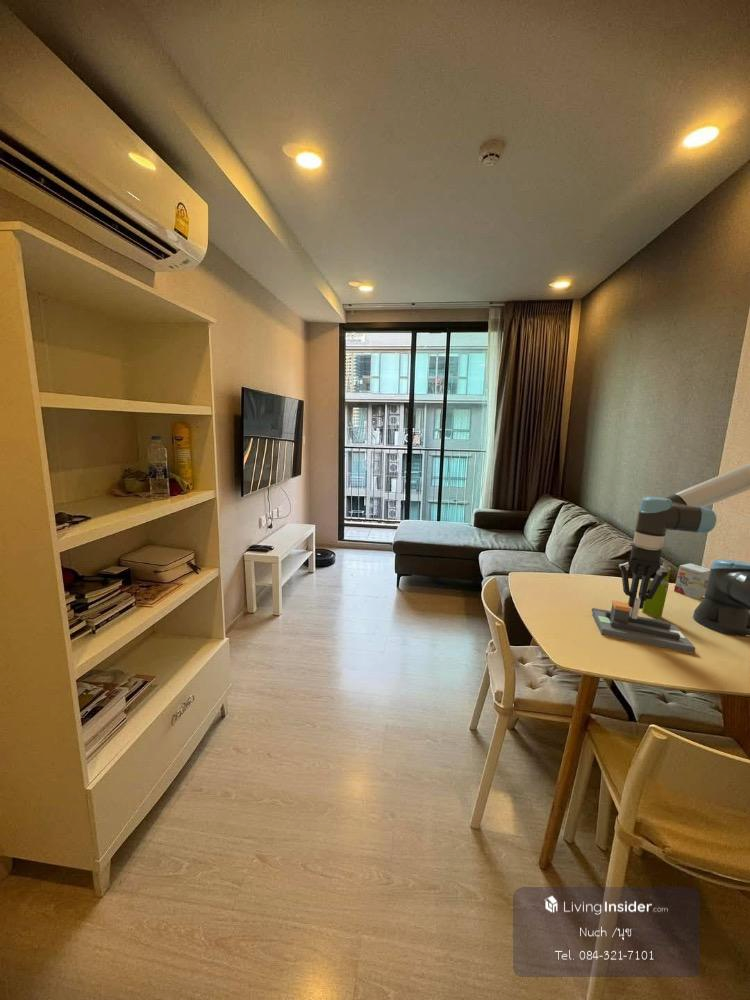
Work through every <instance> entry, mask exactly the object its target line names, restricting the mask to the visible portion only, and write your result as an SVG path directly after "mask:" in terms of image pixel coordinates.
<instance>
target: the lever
mask: <svg viewBox="0 0 750 1000" xmlns="http://www.w3.org/2000/svg"><path fill="white" fill-rule="evenodd" d="M610 611H611V614H610V619H611V620H613V621H619V622H624V623H628V619H629V614H630V612H631V607H630V606H629V605H628V602H626V601H625V602H623V601H618V600H612V601H611V608H610Z"/></svg>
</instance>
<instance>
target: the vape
mask: <svg viewBox="0 0 750 1000" xmlns="http://www.w3.org/2000/svg"><path fill="white" fill-rule="evenodd" d="M660 568H661V569H662V570H665V571H666V572H667V573H668V575H667V576H666V577H665V578H664V579H663V580H662V582H661V583H660V585H659V587H658V589H657V591H656V592H655V594H654V596H653V598H652V599H646V601H644V604H643V608H642V609H641V613H643V614H645V615H647V616H650V617H651V618H653V619H655V618H656V619H662V616H663V613H664V612H663V611H664V607H665V603H666V598H667V593H668V590H669V579H670V575H671V570H672V568H671V567H670V562H669V561H663V562H662V565H660ZM653 579H654V578H653V577H650V580H649V583H648V588H649V586H650V584H651V583H652V581H653ZM648 588H647V590H648Z"/></svg>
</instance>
